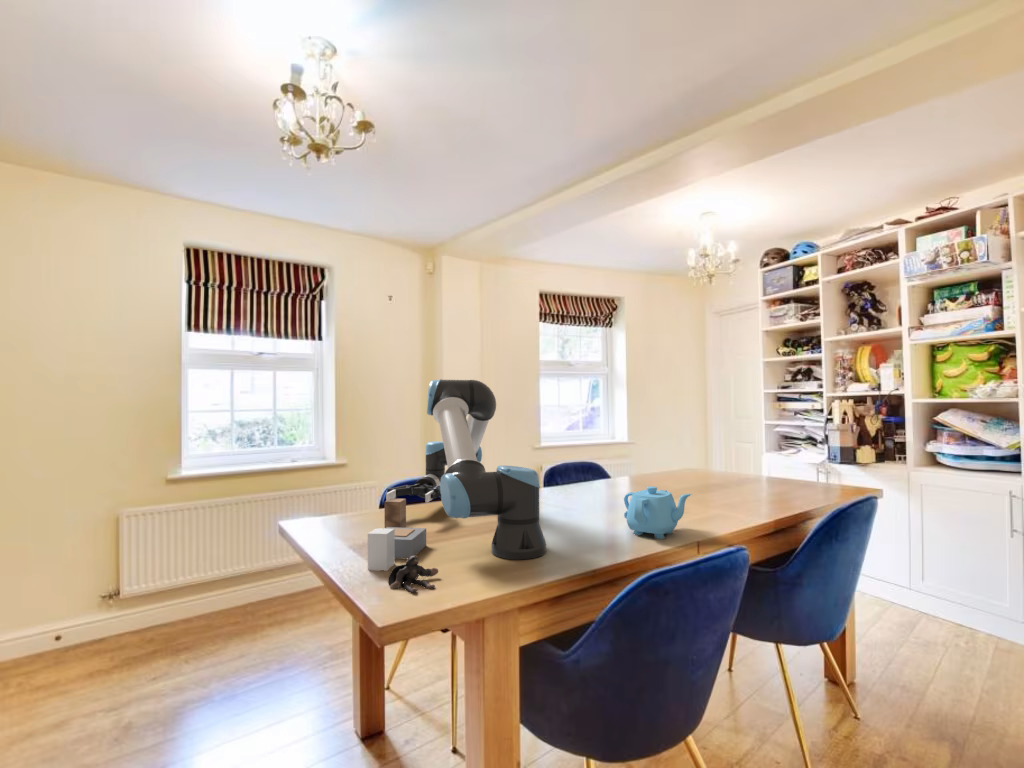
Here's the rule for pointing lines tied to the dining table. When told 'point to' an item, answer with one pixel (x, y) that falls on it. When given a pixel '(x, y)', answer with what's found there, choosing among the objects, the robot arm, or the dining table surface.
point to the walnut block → (395, 513)
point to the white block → (381, 549)
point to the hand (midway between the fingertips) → (406, 497)
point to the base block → (408, 541)
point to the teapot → (653, 511)
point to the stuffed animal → (410, 575)
